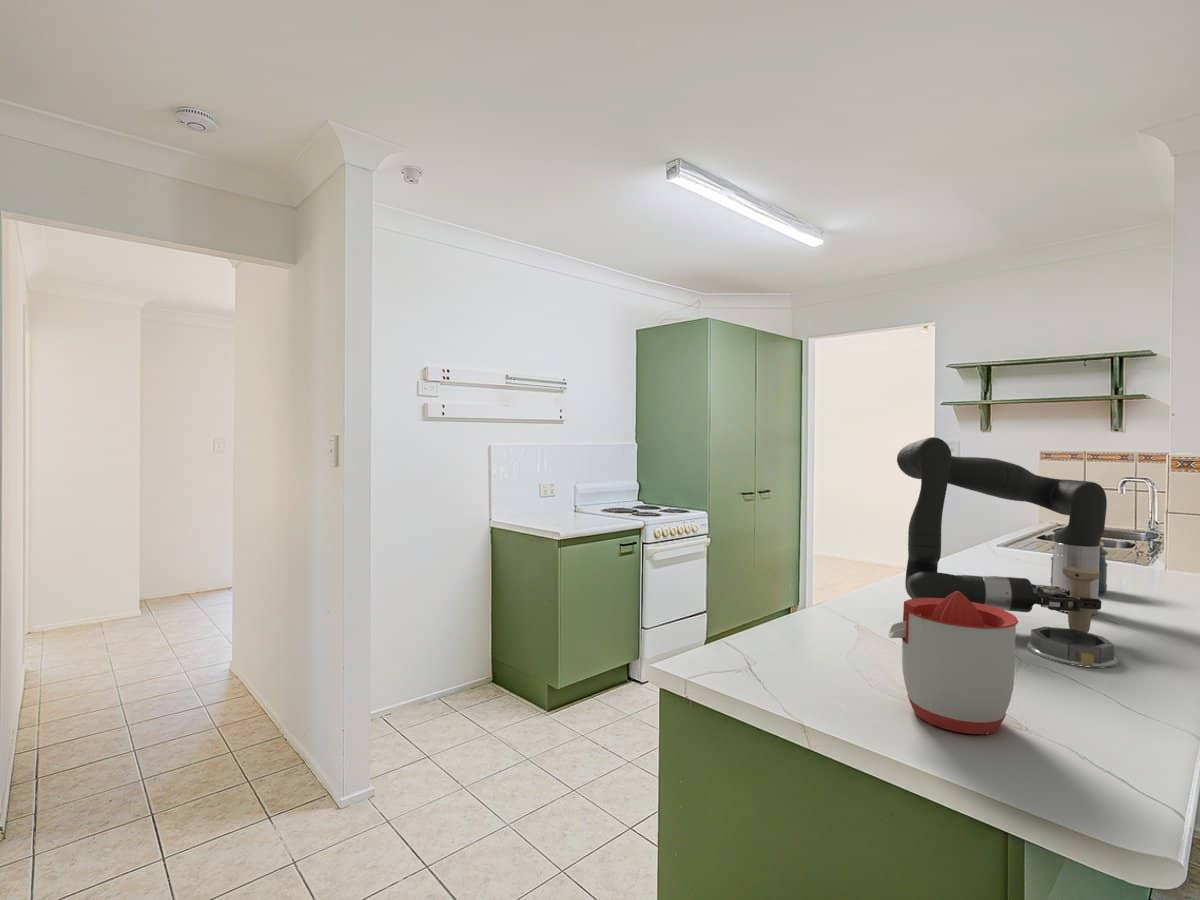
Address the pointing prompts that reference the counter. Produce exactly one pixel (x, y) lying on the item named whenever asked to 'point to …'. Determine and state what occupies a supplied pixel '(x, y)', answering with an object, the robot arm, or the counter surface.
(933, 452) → the robot arm
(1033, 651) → the grey shallow octagonal dish
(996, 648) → the citrus juicer
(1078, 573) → the handle
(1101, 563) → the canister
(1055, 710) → the counter surface
